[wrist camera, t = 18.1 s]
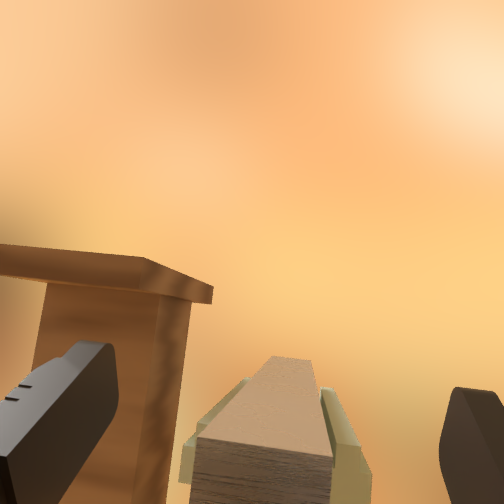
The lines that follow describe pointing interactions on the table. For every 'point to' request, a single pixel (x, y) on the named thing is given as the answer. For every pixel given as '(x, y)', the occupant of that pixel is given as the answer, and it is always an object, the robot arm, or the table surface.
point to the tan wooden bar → (267, 442)
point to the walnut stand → (118, 357)
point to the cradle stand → (341, 441)
